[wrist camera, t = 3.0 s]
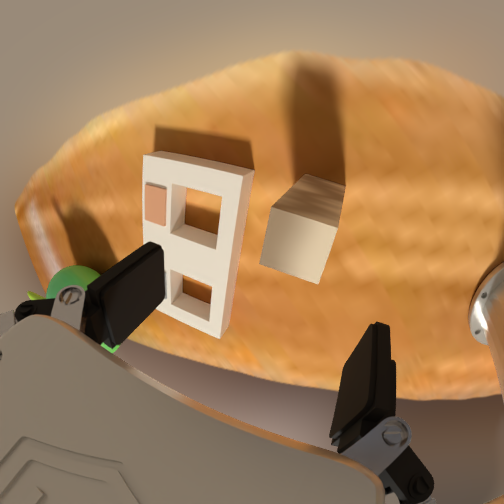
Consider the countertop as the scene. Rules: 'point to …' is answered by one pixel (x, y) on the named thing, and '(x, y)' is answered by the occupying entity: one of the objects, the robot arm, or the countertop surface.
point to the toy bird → (71, 277)
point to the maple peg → (303, 228)
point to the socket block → (196, 233)
